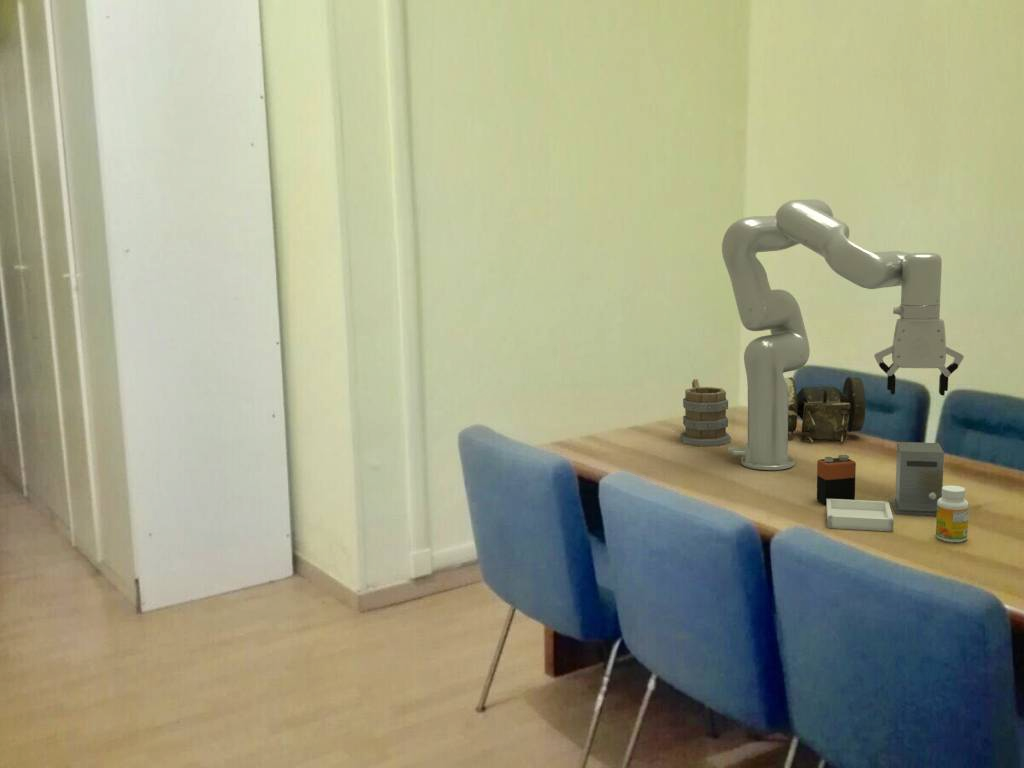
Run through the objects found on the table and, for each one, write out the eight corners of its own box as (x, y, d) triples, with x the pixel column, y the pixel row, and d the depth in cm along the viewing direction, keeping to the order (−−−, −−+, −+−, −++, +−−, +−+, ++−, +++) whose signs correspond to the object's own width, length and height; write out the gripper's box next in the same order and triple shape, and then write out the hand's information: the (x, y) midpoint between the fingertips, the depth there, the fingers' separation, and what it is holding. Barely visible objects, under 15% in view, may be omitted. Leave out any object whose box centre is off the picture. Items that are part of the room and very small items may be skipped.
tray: (827, 528, 192) (827, 516, 192) (826, 509, 203) (826, 498, 203) (893, 531, 189) (893, 519, 188) (888, 512, 200) (888, 501, 199)
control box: (895, 514, 199) (897, 451, 197) (891, 500, 208) (893, 441, 205) (944, 516, 196) (947, 453, 194) (938, 503, 205) (941, 442, 203)
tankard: (733, 445, 260) (734, 390, 257) (685, 447, 260) (685, 391, 257) (718, 429, 279) (718, 377, 277) (674, 430, 279) (674, 378, 277)
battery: (855, 503, 207) (856, 457, 205) (825, 506, 206) (826, 460, 204) (845, 497, 211) (846, 452, 209) (815, 500, 210) (816, 455, 208)
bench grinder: (773, 415, 279) (775, 357, 267) (854, 411, 275) (860, 352, 264) (783, 462, 262) (785, 403, 251) (869, 458, 259) (875, 398, 247)
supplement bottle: (930, 534, 186) (932, 485, 185) (957, 532, 187) (959, 483, 185) (944, 544, 181) (947, 493, 179) (972, 542, 181) (975, 491, 180)
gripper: (876, 315, 202) (874, 396, 205) (968, 314, 198) (964, 398, 201) (874, 311, 210) (872, 390, 213) (962, 310, 205) (958, 391, 208)
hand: (916, 393), depth 207 cm, fingers open, 9 cm apart
